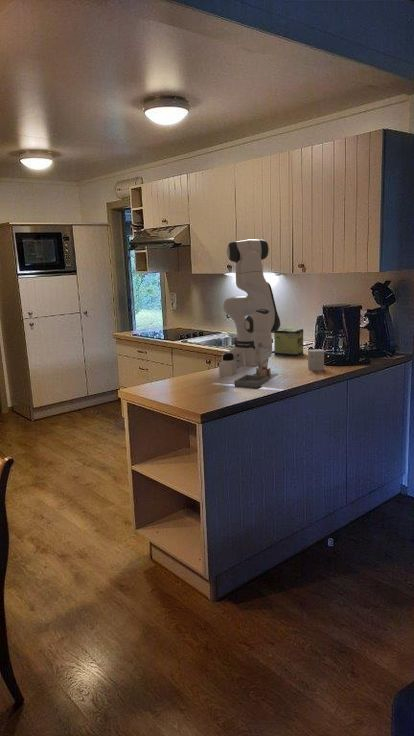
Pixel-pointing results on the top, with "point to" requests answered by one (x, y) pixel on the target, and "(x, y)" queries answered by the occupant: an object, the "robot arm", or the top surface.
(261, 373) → the fuse
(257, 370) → the clip holder
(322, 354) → the small box
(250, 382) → the tray
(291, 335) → the protein box
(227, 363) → the medicine bottle
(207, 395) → the top surface
